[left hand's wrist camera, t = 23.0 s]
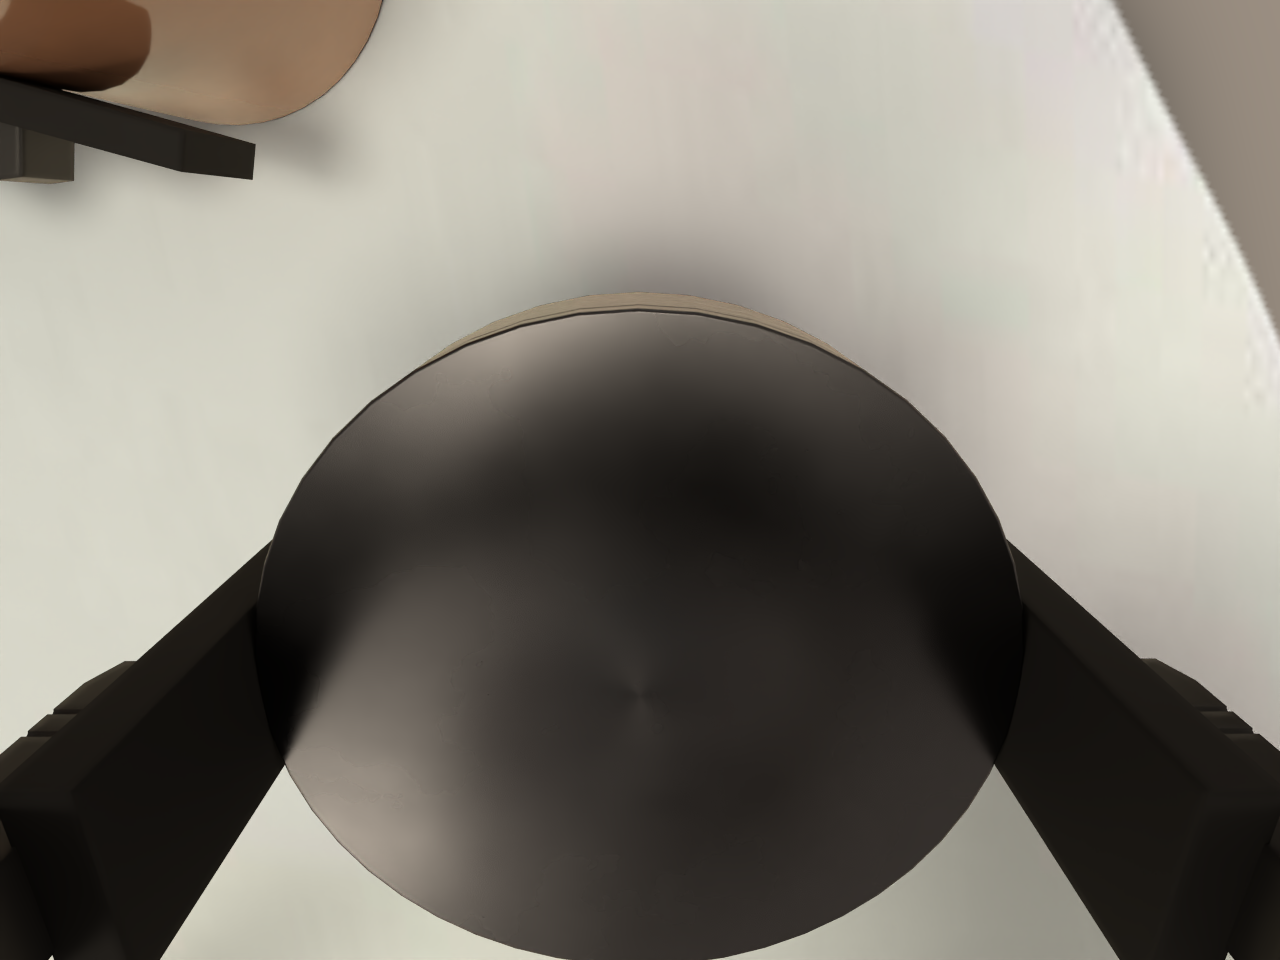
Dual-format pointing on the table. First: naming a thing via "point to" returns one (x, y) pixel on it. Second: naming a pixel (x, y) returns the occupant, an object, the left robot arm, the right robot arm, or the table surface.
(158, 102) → the jar
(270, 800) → the table surface
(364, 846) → the lid
